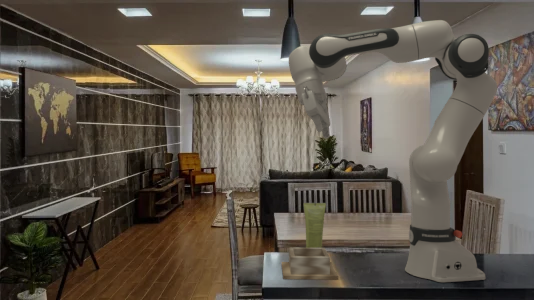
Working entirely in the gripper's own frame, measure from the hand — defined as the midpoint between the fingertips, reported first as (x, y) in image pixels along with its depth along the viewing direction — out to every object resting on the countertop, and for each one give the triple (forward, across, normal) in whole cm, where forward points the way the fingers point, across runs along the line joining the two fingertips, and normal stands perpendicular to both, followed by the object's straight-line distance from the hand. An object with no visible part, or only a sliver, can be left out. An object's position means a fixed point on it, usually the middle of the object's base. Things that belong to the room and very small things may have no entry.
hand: (323, 134), depth 133 cm
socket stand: (+38, +4, +18) cm, 42 cm away
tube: (+36, +15, +18) cm, 43 cm away
